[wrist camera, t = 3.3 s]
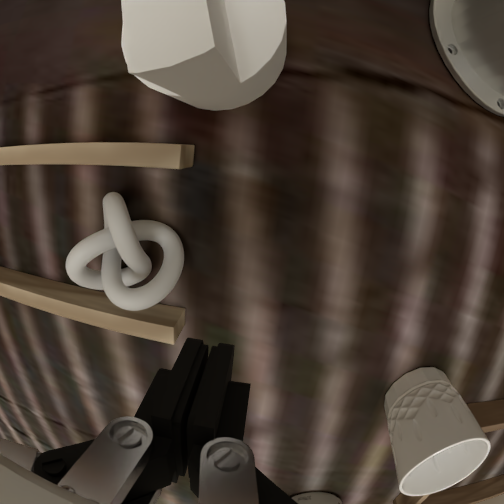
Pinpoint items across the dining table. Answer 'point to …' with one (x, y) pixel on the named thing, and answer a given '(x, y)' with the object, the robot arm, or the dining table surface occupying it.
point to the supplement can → (316, 498)
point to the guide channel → (82, 299)
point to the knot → (127, 258)
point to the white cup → (431, 433)
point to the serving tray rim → (464, 498)
